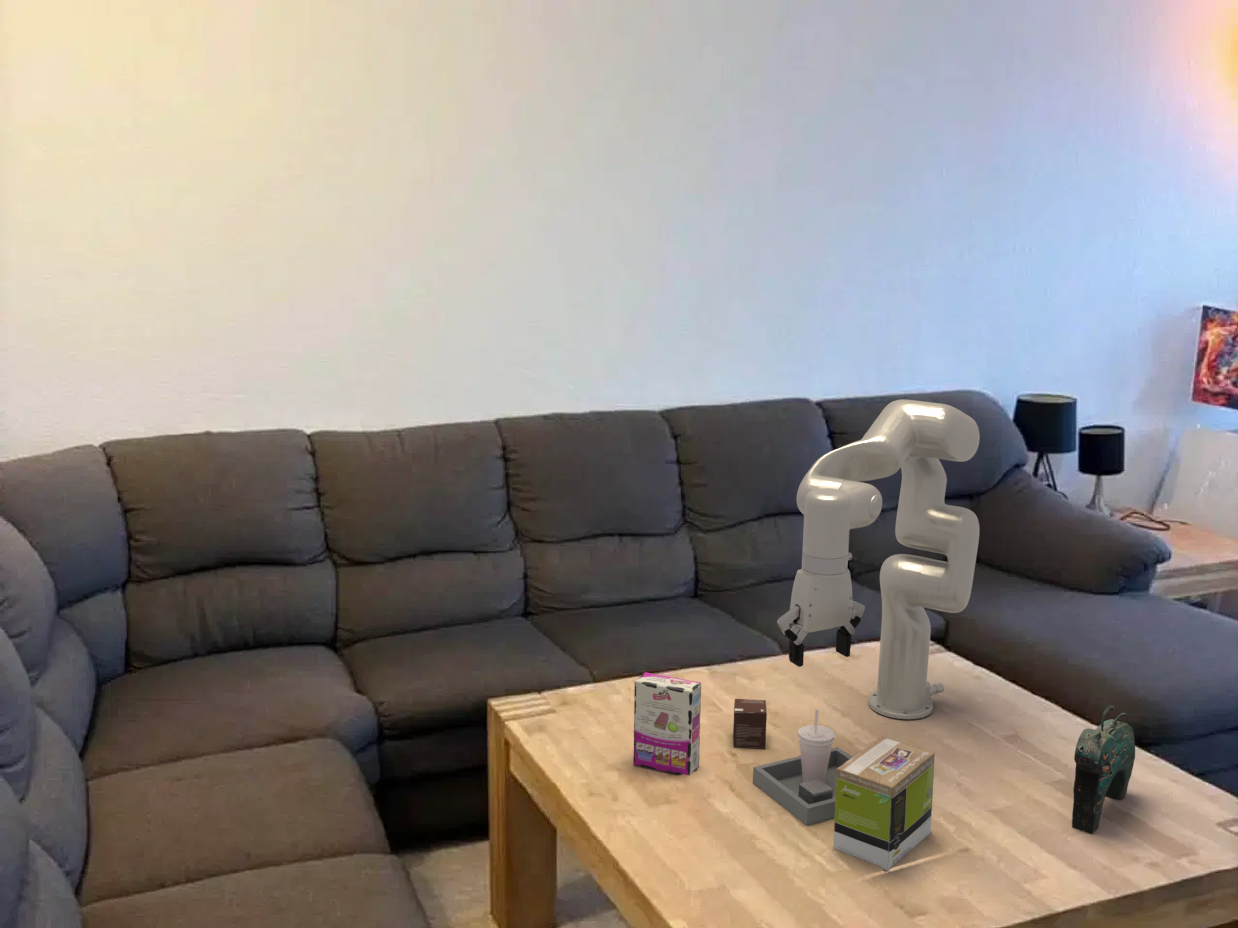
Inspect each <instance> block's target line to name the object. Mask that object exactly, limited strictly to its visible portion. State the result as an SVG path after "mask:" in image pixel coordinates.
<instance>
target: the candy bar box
mask: <svg viewBox="0 0 1238 928" xmlns="http://www.w3.org/2000/svg"><path fill="white" fill-rule="evenodd" d="M701 693H702V682H700V681H696V680H695V681H694V680H688V679H684V678H678V677H674V676H673V677H672V676H667V675H663V674H656V673H651V672H646V671H645V672H644V673H642V675H640V676H639V677H638V678H637V679H636V680H635V681H634V694H633V695H634V707H633V709H634V710H633V711H634V714H633V715H634V717H633V720H634V721H633V757H632V758H633V760H632V761H633V765H634V766H635V767H641V768H644V769H650V770H655V771H657V772H664V773H668V774H672V775H677V776H682V775H685V776H691V774H692V773H694V772H696V771H698V768H699V767H700V745H701V744H700V740H701V738H700V737H701V736H700V734H701V704H702V703H701V702H702V701H701V699H702V694H701Z"/></svg>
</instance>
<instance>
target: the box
mask: <svg viewBox="0 0 1238 928" xmlns="http://www.w3.org/2000/svg"><path fill="white" fill-rule="evenodd" d="M733 706H734V707H733V728H732V729H733V731H732V734H733V735H732V736H733V748H749V749H763V750H764V749H766V743H767V740H766V739H767V715H768V714H767V700H766V699H745V698H734V703H733Z"/></svg>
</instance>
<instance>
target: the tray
mask: <svg viewBox="0 0 1238 928" xmlns="http://www.w3.org/2000/svg"><path fill="white" fill-rule="evenodd" d="M852 757H853V756H852V755H851V754H849V753H847V752H845V751H844V750H842V749H841V748H840V747H839V746H835V747H832V748H831V753H830V758H829V763H828V769H827V774H826V779H825V784H826V785H828V786H829V787H831V788H832V789H833V798H832V799H828V800H824V801H821V802H817V803H813V804H808V803H806V802H805V801H804V800H802V799H801V798H800V797H799V796H798V795H799V784H800V783H803V778H802V765H801V755H797V756H795V757H790V758H785V759H781V760H777V761H773V762H772V761H771V762H769V763H765V764H760V765H756V766H753V768H752V769H753V771H752V784H753V785H755V786H756V787H757V788H758V789H759V790H761V791H762V792H764V793H765V794H766V795H767V796H768V797H770V798H771V799H772V800H773V801H775V802H776V803H778V805H780V806H781V807H782V808H783V809H785V810H787V811H788V813H790V814H791V815H793V816H794V817H795V818H796V819H798V820H799V821H800V822H801V823H803V824H804V825H805V826H810V825H814V824H818V823H821V822H824V821H825V822H826V821H828V820H829V821H830V820H833V819H834V818H835V796H836V774H837V768H838V767H840V766H842V765H843V764H844V763H845V762H847V761H848V760H849V759H851V758H852Z"/></svg>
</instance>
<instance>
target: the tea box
mask: <svg viewBox="0 0 1238 928" xmlns="http://www.w3.org/2000/svg"><path fill="white" fill-rule="evenodd" d="M935 757H936V754H935V752H933V751H929V750H928V749H927V750H926V749H924V748H919V747H916V746H912V745H909V744H906V743H904V742H900V741H897V740H893V739H889V738H886V737H884V736H880V737H878V738H877V739H876V740H874V741H872V742H871V743H870V744H869V745H866V747H865V748H863V749H862V750H860V751H859V752H858V753H856V754H855V755H854V756H852V758H851V759H849V760H848V761H847V762H845V763H844V764H843V765H842V766H840V767H838V768H837V774H836V796H835V818H833V819H834V820H833V821H834V822H833V823H834V825H833V826H834V827H833V847H832V848H833V849H835V850H837V851H841V852H843V853H845V854H848V855H850V856H853V857H856V858H859V859H860V860H863V861H865V862H867V863H871V864H874V865H875V866H878V867H880V868H883V871H885V872H889V871H890V870H891V869H892V868H893V866H894V865H896V863H898V861H900V860H901V859H903V858H904V857H905V856H906V855H907V854H908V853H909V852H910V851H912V850H913V848H915V847H916V846H917V845H919V844H920V843H921V842H922V841H923V840H924V839H926V837H928V836H929V835H930V834H931V831H932V810H933V794H934V775H935Z"/></svg>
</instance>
